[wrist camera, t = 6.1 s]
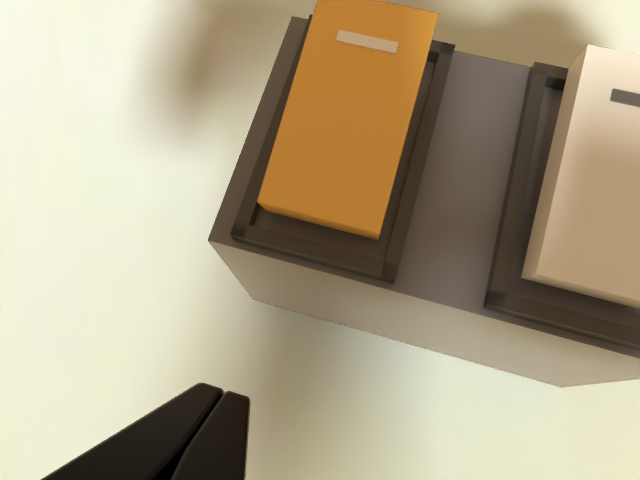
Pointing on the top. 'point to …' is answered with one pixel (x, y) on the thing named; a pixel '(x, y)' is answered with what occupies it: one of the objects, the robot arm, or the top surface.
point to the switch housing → (436, 230)
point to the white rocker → (592, 184)
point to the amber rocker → (348, 114)
